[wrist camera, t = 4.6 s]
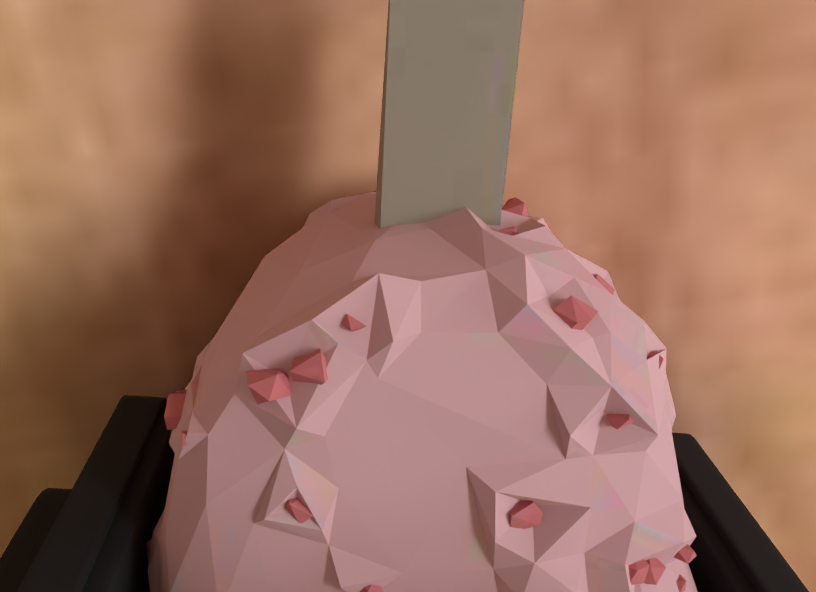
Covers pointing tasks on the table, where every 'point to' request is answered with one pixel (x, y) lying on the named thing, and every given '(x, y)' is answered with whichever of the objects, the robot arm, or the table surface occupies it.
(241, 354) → the ice cream bar
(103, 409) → the table surface
